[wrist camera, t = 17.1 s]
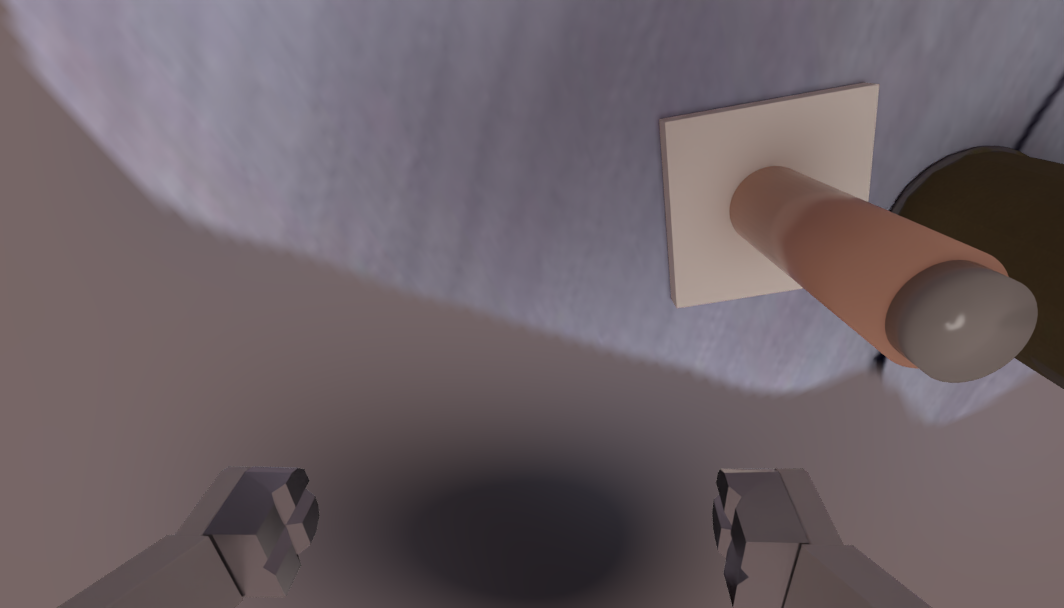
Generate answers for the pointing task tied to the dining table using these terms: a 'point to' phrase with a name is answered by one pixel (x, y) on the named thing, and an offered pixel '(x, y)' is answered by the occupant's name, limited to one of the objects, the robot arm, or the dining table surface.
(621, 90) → the dining table surface
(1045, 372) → the canister
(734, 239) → the board
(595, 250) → the dining table surface
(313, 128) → the dining table surface
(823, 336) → the dining table surface
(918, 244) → the shaker
